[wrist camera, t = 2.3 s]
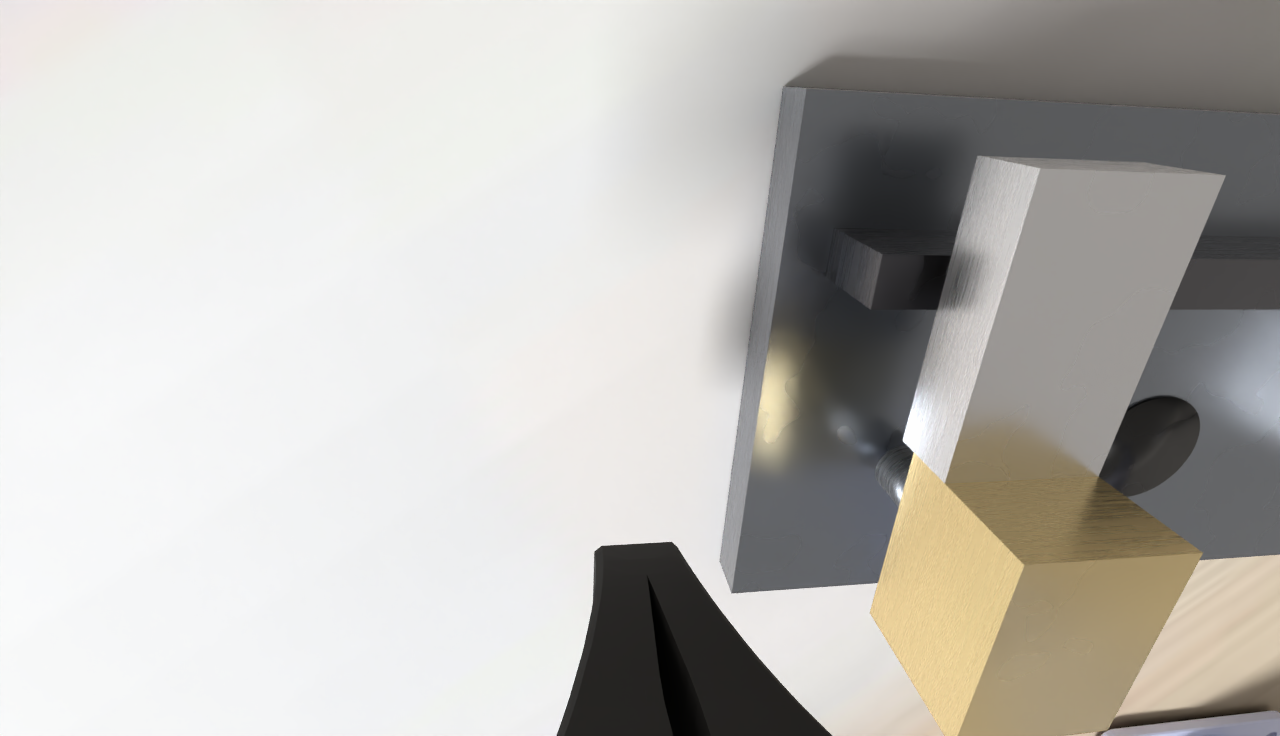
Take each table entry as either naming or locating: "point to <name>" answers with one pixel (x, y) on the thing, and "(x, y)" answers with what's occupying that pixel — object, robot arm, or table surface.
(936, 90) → the table surface
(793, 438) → the plate
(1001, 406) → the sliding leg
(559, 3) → the table surface
